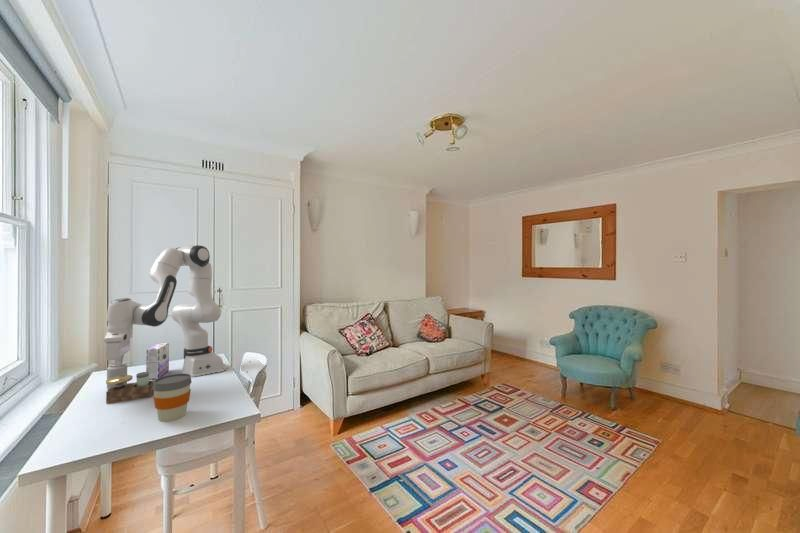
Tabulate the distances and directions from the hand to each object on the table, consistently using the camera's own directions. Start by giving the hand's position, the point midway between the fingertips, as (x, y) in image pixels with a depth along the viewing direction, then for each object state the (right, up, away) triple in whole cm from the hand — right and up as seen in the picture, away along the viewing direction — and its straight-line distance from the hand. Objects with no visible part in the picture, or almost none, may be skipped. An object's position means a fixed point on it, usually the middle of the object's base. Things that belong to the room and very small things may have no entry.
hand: (118, 365), depth 142 cm
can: (-12, -15, +13) cm, 24 cm away
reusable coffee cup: (+36, -15, -17) cm, 43 cm away
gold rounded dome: (0, -12, 0) cm, 12 cm away
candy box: (-6, -15, +31) cm, 35 cm away
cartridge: (+7, -15, +4) cm, 17 cm away
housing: (+4, -15, +2) cm, 16 cm away
